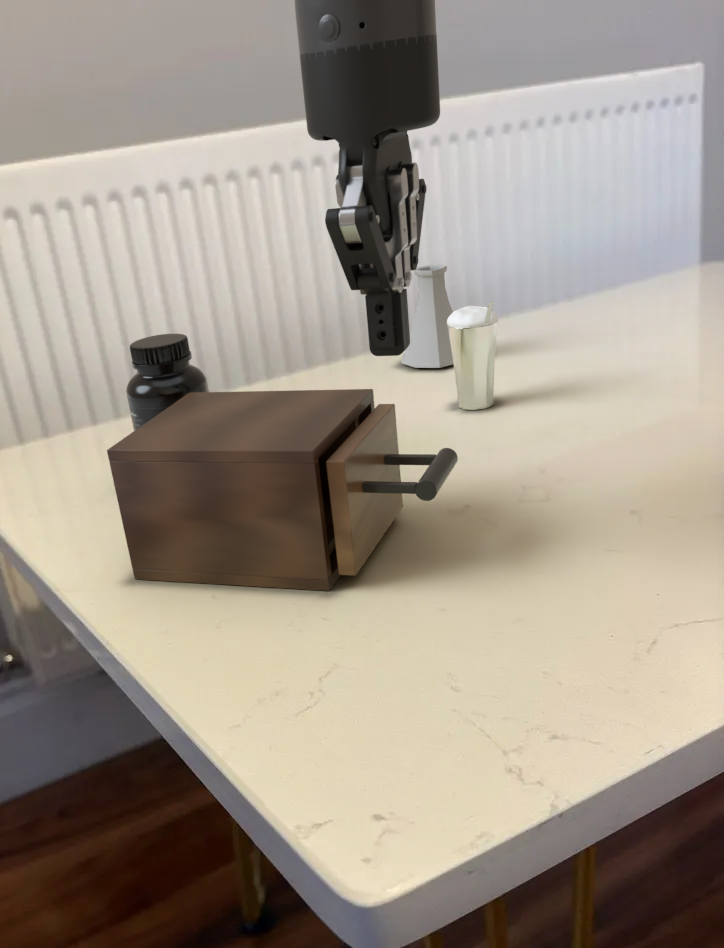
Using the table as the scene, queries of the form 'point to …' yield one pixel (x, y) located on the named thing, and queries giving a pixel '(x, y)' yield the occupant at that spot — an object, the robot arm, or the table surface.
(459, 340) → the milkshake
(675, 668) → the table surface
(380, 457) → the drawer
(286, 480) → the cabinet
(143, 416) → the supplement bottle
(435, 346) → the flask
